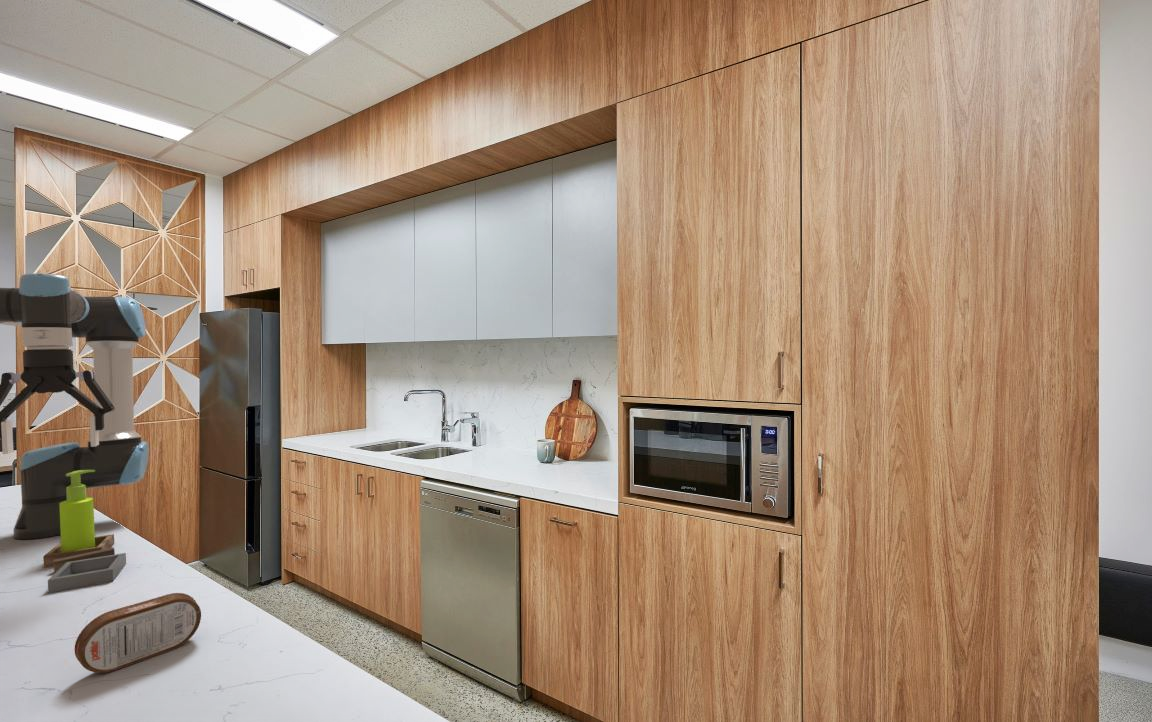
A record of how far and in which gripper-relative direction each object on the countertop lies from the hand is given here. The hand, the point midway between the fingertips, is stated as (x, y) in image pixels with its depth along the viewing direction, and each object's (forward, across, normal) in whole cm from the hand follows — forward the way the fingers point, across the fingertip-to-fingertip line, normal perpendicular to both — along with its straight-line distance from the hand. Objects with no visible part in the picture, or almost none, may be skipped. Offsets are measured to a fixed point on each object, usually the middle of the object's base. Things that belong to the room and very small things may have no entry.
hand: (52, 449), depth 113 cm
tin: (+27, +23, -49) cm, 61 cm away
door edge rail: (+28, +3, +6) cm, 28 cm away
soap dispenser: (+28, 0, +16) cm, 32 cm away
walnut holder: (+28, 0, +16) cm, 32 cm away
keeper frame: (+27, +6, -3) cm, 28 cm away
